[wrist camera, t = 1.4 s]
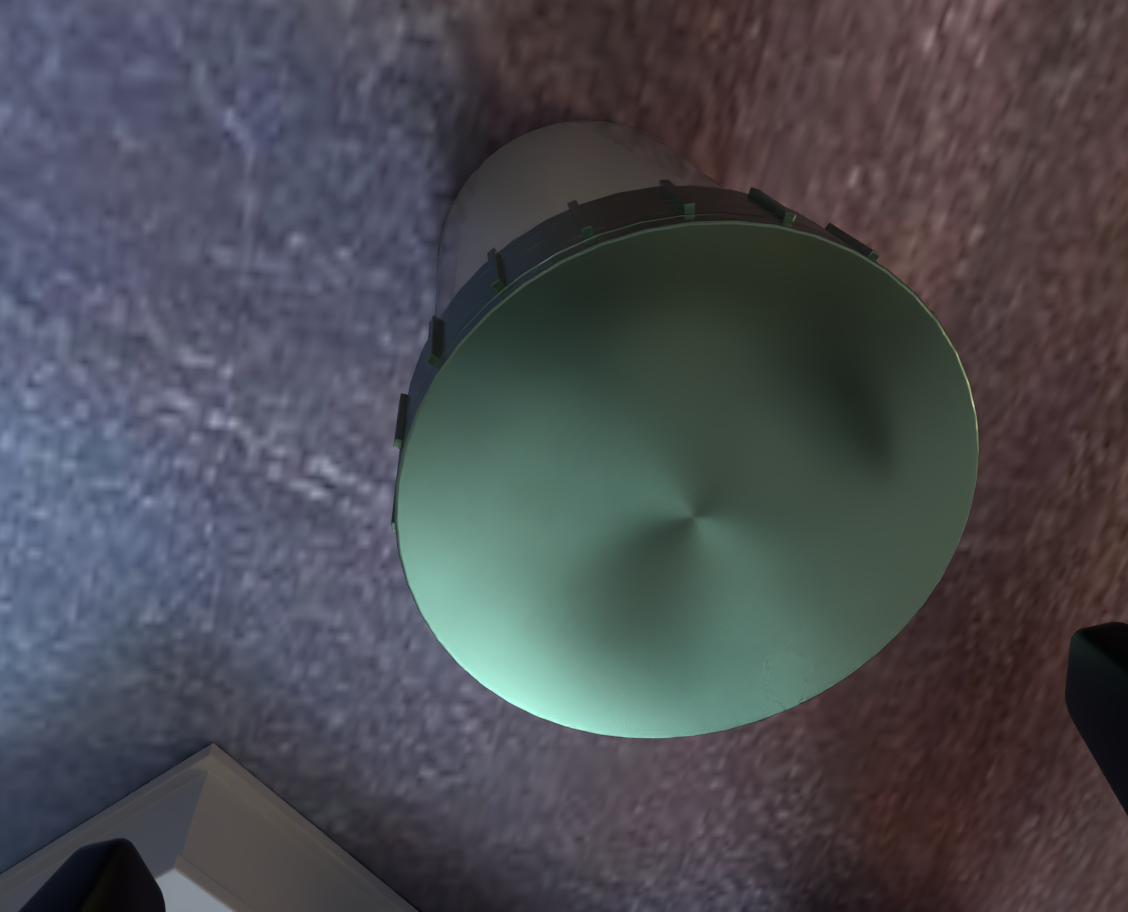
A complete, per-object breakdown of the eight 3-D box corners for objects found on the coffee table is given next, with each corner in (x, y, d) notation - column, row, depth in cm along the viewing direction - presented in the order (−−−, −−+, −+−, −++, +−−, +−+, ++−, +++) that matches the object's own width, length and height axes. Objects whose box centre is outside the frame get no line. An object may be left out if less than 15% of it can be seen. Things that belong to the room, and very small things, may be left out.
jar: (704, 88, 18) (934, 181, 9) (739, 370, 21) (941, 640, 12) (401, 159, 18) (353, 316, 9) (478, 430, 21) (494, 745, 12)
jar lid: (905, 119, 10) (988, 144, 9) (919, 592, 13) (982, 673, 12) (326, 256, 10) (302, 305, 9) (473, 696, 13) (476, 792, 12)
